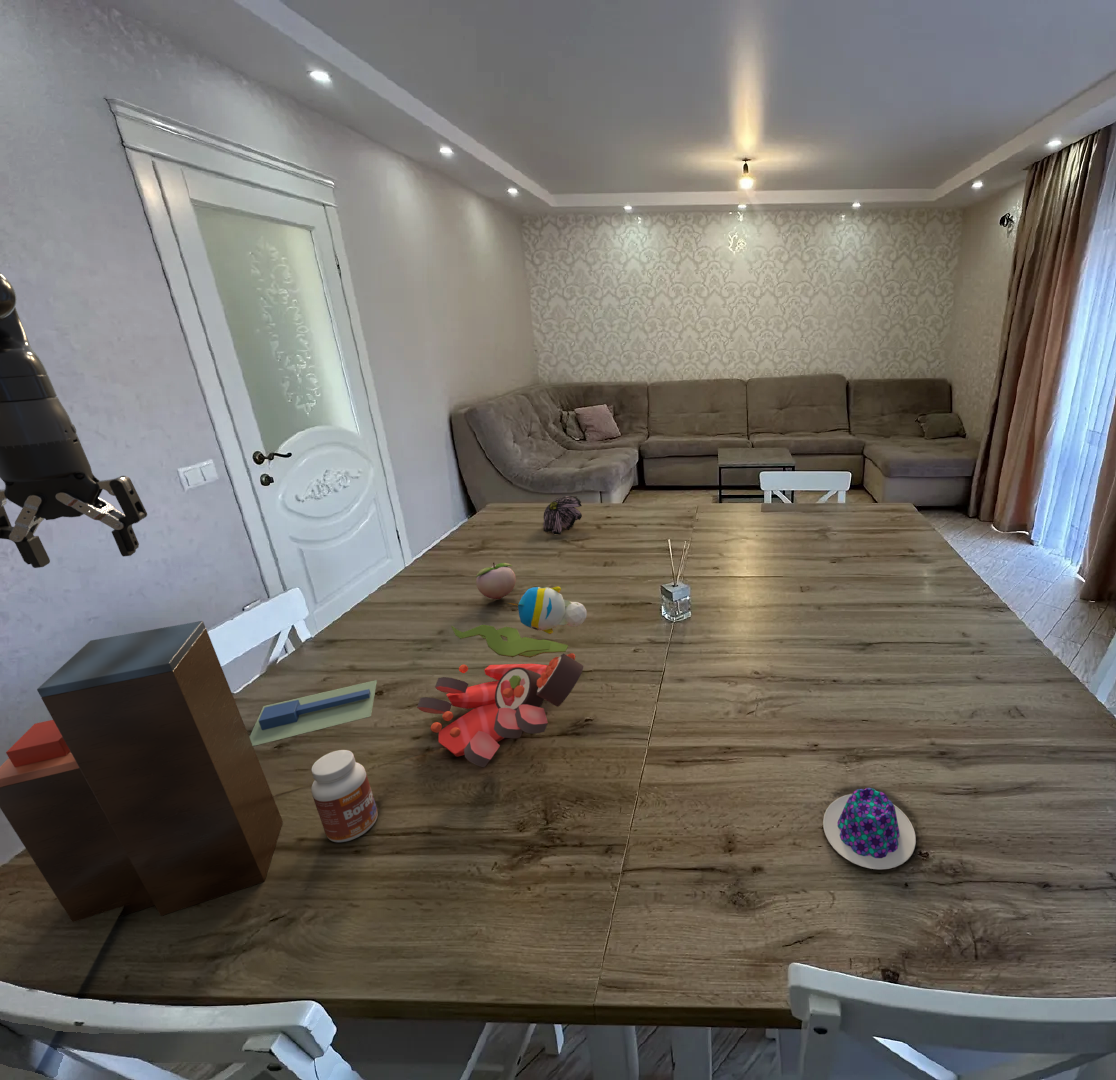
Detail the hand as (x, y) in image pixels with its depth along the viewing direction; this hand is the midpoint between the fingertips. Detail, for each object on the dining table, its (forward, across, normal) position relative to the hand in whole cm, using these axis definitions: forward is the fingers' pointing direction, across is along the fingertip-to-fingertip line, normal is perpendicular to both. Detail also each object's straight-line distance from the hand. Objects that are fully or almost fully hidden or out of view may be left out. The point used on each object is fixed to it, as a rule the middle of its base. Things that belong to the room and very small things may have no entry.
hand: (87, 559), depth 74 cm
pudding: (+36, +88, -55) cm, 110 cm away
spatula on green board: (+36, +16, +8) cm, 40 cm away
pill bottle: (+36, +25, -23) cm, 50 cm away
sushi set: (+36, +48, -7) cm, 61 cm away
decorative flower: (+36, +74, +86) cm, 119 cm away
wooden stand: (+36, +7, -23) cm, 43 cm away
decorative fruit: (+36, +50, +40) cm, 74 cm away
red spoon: (+14, +2, -17) cm, 22 cm away
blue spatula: (+36, +17, +8) cm, 40 cm away
